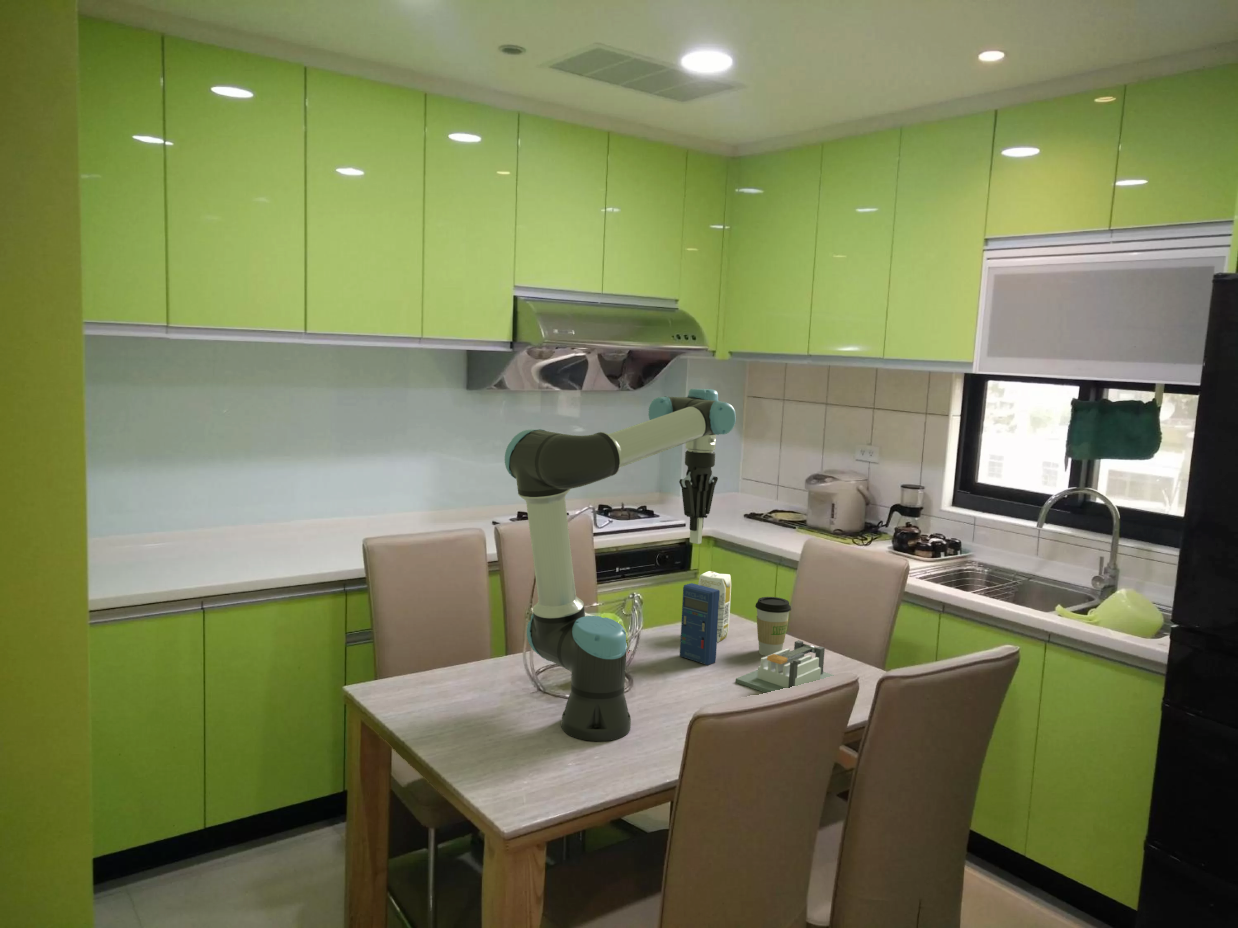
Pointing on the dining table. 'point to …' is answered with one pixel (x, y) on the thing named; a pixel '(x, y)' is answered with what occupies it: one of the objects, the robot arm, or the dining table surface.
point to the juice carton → (724, 586)
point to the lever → (791, 654)
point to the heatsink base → (786, 671)
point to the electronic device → (699, 623)
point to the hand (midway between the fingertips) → (695, 542)
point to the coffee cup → (771, 624)
